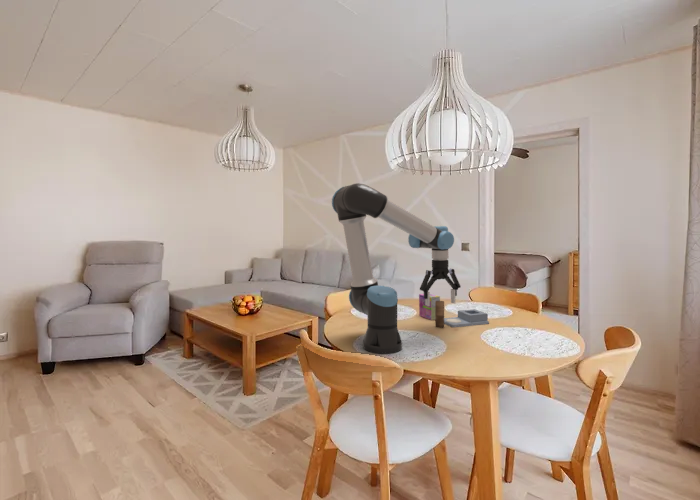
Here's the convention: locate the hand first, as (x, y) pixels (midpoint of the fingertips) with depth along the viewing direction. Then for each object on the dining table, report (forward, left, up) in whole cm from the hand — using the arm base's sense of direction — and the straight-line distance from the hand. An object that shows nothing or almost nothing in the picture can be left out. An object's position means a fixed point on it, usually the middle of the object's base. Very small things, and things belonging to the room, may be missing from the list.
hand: (440, 304), depth 164 cm
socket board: (+3, -15, -11) cm, 18 cm away
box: (+17, -4, -11) cm, 20 cm away
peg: (0, 0, -11) cm, 11 cm away
